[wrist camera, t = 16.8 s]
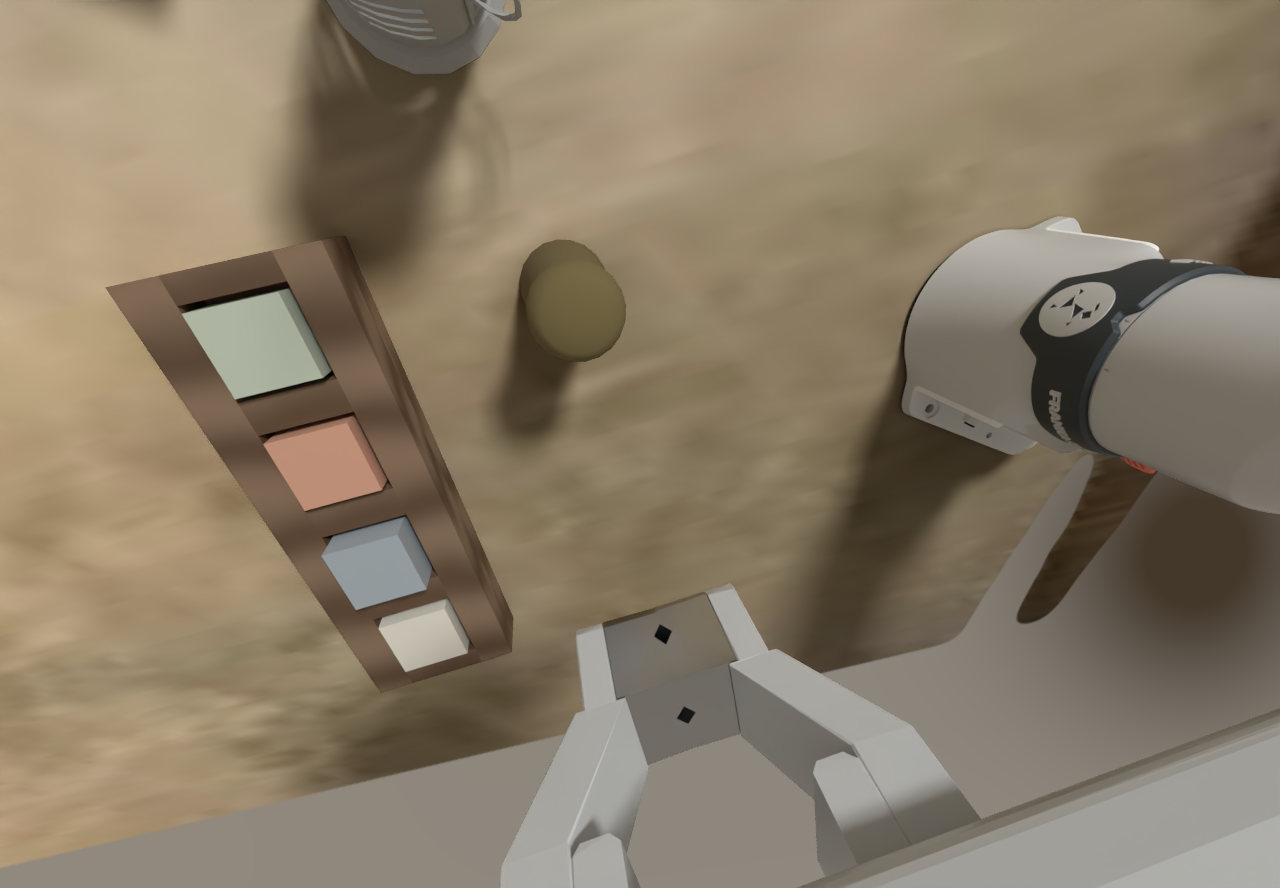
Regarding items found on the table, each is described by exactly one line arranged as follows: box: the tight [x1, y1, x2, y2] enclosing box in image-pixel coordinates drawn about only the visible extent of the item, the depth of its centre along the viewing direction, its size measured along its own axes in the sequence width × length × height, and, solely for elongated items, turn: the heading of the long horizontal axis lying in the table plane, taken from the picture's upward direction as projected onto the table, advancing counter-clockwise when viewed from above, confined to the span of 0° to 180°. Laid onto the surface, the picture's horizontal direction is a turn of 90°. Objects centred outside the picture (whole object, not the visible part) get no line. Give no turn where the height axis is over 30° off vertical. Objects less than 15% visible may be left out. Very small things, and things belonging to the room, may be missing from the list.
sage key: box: [182, 287, 332, 399], centre depth 29 cm, size 5×5×2 cm
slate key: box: [322, 515, 432, 610], centre depth 35 cm, size 5×5×2 cm
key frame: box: [106, 236, 513, 692], centre depth 36 cm, size 33×11×4 cm, turn 11°
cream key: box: [378, 598, 470, 672], centre depth 40 cm, size 5×5×2 cm
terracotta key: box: [263, 412, 388, 511], centre depth 33 cm, size 5×5×2 cm
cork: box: [520, 240, 626, 362], centre depth 29 cm, size 6×6×11 cm
